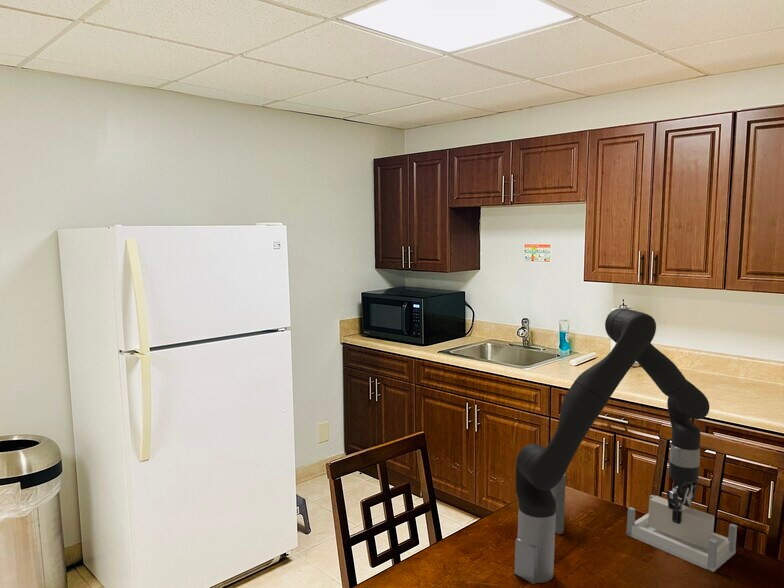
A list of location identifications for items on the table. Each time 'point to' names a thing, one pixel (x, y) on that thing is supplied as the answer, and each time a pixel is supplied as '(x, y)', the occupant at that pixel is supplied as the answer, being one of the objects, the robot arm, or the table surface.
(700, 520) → the panel
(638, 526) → the rack
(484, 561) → the table surface
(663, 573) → the table surface
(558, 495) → the hip flask
